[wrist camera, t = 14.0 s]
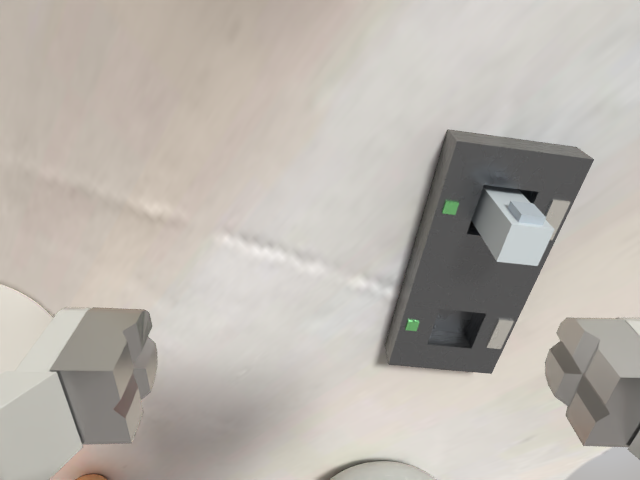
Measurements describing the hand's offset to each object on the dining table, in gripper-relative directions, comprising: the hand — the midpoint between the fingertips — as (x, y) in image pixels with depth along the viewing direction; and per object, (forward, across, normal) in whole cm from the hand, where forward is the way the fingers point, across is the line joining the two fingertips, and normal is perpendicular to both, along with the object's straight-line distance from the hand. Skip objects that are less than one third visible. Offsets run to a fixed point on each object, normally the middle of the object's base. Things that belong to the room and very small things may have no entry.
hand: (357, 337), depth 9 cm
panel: (+32, -16, +19) cm, 41 cm away
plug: (+32, -17, +12) cm, 38 cm away
